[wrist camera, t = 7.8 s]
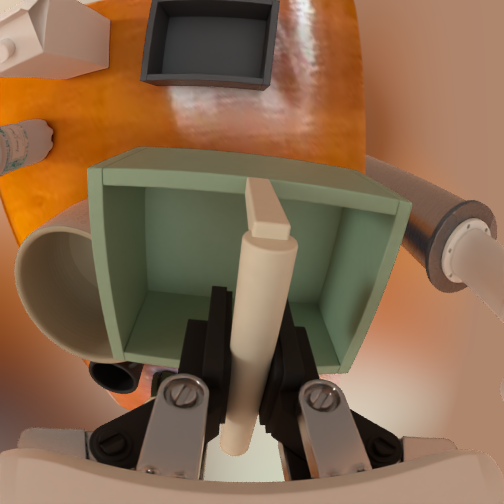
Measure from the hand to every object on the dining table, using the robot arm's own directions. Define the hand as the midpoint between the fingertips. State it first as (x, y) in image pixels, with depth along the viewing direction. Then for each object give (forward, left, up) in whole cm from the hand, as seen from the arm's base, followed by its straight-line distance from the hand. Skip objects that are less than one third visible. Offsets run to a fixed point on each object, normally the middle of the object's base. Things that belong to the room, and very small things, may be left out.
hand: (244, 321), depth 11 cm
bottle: (+28, -5, -28) cm, 40 cm away
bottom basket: (+4, -16, -28) cm, 32 cm away
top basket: (0, 0, -8) cm, 8 cm away
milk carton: (+21, -17, -28) cm, 39 cm away
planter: (+15, +10, -28) cm, 34 cm away
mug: (+17, +31, -28) cm, 46 cm away
